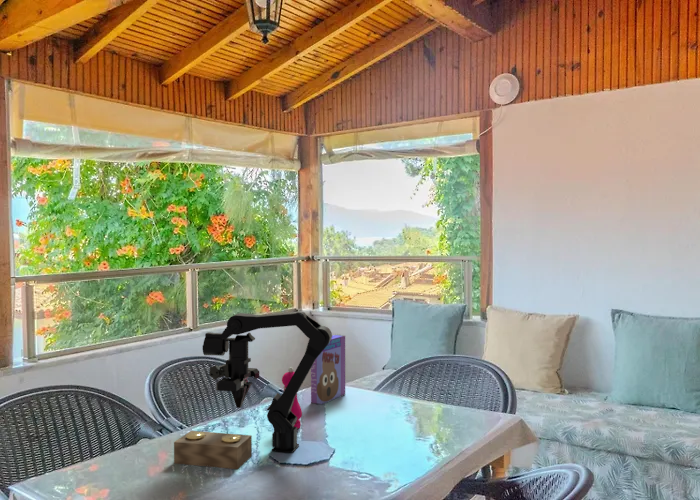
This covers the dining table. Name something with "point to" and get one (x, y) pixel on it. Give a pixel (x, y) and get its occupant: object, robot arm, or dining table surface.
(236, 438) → the peg
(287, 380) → the pepper mill
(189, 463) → the block
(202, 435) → the peg
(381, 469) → the dining table surface
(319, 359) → the cereal box
